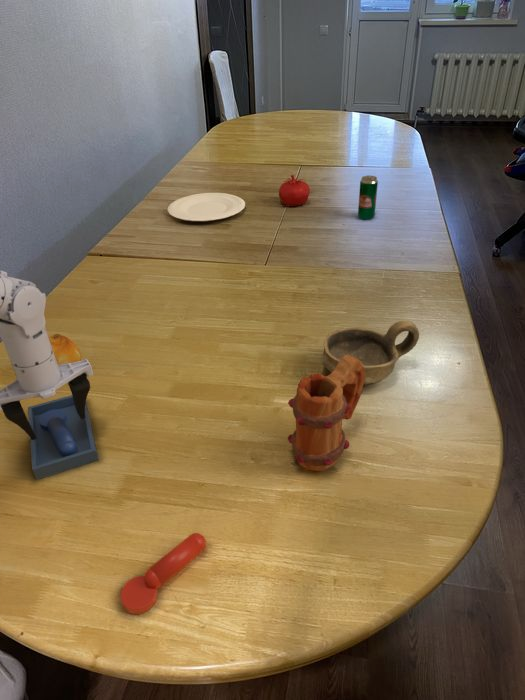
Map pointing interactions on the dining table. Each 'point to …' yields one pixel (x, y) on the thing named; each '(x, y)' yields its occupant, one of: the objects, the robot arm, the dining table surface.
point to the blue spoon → (58, 431)
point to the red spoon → (160, 575)
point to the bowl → (370, 348)
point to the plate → (206, 207)
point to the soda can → (367, 197)
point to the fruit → (64, 349)
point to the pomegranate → (294, 192)
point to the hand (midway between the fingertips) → (57, 425)
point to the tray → (45, 448)
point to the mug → (325, 413)
